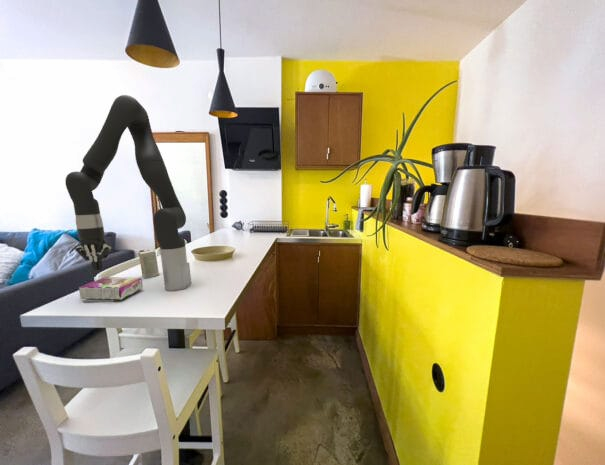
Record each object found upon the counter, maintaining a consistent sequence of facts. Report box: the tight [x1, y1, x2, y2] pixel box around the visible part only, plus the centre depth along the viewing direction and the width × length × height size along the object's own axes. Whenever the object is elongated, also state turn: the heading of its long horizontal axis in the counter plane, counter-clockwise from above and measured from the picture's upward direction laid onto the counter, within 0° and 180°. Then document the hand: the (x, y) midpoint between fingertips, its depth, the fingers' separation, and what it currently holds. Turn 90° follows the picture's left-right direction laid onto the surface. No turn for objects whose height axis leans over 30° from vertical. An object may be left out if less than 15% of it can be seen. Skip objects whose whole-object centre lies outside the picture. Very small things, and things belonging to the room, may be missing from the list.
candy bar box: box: [78, 276, 144, 301], centre depth 92 cm, size 11×5×16 cm
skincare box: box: [138, 249, 160, 279], centre depth 113 cm, size 6×4×12 cm
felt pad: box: [82, 299, 117, 304], centre depth 94 cm, size 11×14×1 cm
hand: (98, 270), depth 93 cm, fingers closed
